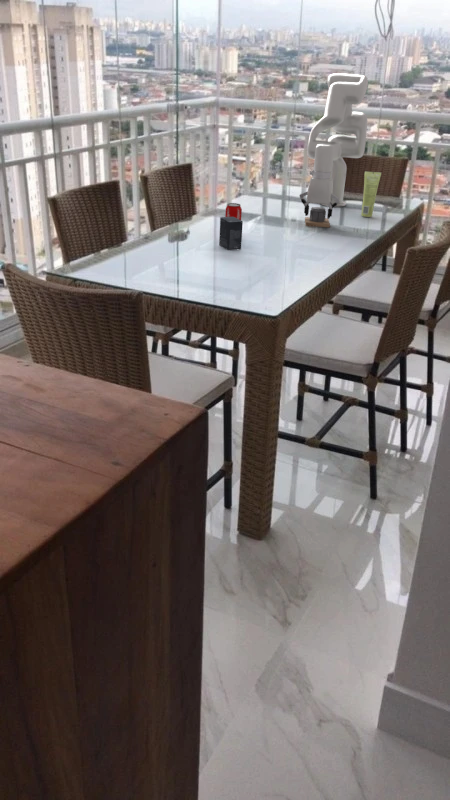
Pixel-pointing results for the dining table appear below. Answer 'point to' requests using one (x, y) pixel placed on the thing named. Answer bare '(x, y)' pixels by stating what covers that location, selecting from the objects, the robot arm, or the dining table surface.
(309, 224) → the stud block
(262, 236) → the dining table surface
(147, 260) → the dining table surface
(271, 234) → the dining table surface
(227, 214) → the soda can
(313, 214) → the cap
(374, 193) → the tube
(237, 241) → the box
